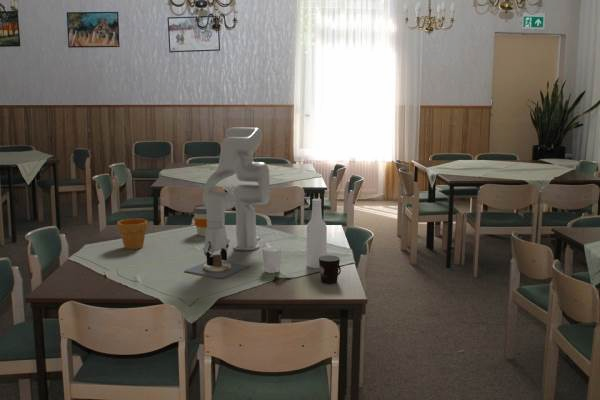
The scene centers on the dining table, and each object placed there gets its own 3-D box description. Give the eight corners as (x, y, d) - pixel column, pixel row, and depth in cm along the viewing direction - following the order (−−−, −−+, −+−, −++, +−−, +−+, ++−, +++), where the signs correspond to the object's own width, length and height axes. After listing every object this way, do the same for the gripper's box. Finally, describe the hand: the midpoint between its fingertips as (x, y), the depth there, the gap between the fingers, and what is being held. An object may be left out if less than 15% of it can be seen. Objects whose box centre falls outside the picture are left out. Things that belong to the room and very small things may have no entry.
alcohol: (304, 263, 278) (304, 198, 273) (323, 262, 280) (323, 197, 275) (309, 269, 270) (309, 201, 264) (328, 268, 272) (329, 200, 266)
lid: (214, 262, 279) (214, 250, 278) (236, 266, 273) (236, 254, 272) (197, 269, 268) (197, 256, 267) (220, 273, 262) (219, 260, 261)
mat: (213, 260, 284) (213, 259, 284) (249, 266, 274) (249, 265, 274) (184, 271, 267) (184, 270, 267) (221, 279, 257) (221, 277, 257)
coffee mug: (317, 278, 257) (317, 255, 255) (338, 278, 258) (338, 254, 256) (320, 287, 246) (320, 263, 244) (342, 287, 247) (342, 262, 245)
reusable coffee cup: (195, 237, 326) (194, 209, 324) (193, 232, 338) (192, 205, 336) (219, 236, 329) (218, 208, 326) (216, 230, 341) (215, 204, 338)
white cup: (279, 274, 264) (278, 251, 262) (261, 273, 265) (260, 250, 263) (283, 268, 271) (283, 246, 269) (265, 267, 273) (265, 245, 271)
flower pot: (113, 249, 303) (111, 223, 300) (128, 242, 316) (127, 217, 314) (139, 251, 299) (137, 225, 297) (153, 244, 313) (152, 219, 310)
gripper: (221, 219, 276) (222, 256, 279) (196, 227, 261) (197, 266, 265) (235, 221, 272) (235, 259, 276) (210, 229, 258) (211, 269, 261)
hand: (217, 262), depth 270 cm, fingers open, 9 cm apart
